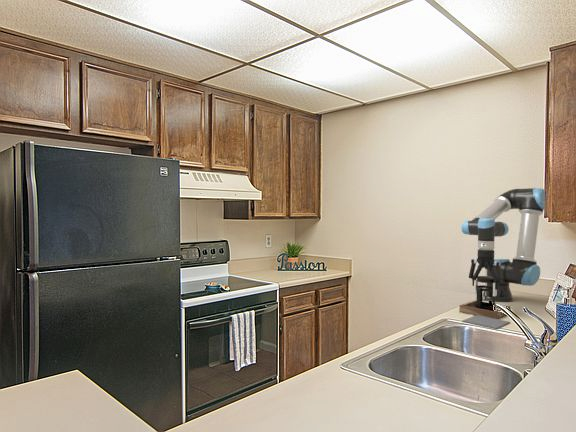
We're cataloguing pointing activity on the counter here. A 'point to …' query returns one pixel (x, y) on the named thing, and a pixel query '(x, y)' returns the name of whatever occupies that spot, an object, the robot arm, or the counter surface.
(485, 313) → the cradle
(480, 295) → the french press
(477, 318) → the mat
